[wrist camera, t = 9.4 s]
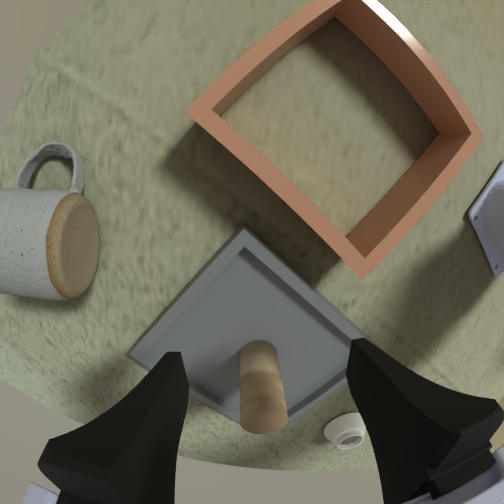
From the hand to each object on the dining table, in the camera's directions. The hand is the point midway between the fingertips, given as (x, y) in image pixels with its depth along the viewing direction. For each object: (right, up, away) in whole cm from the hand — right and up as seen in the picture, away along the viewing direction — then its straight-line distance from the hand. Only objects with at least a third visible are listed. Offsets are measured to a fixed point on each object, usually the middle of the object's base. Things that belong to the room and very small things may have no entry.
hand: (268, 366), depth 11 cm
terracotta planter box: (+6, +14, +6) cm, 16 cm away
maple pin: (0, -4, +11) cm, 11 cm away
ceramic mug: (-16, +8, +7) cm, 19 cm away
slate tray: (0, -3, +11) cm, 12 cm away
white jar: (+10, -15, +16) cm, 24 cm away
